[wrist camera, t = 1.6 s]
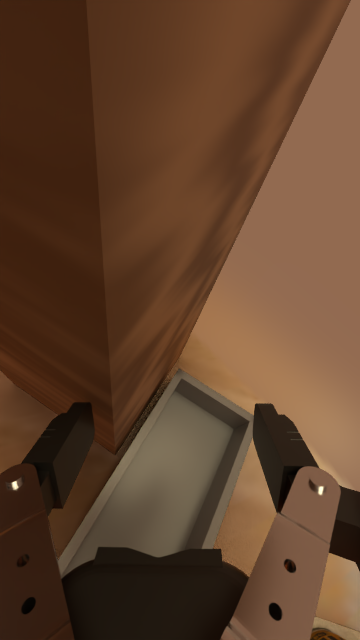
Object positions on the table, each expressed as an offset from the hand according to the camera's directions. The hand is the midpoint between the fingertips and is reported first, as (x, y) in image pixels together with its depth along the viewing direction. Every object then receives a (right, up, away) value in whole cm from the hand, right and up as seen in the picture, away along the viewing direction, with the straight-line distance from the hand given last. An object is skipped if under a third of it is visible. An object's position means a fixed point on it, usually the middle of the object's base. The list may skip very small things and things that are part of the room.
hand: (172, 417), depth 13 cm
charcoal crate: (-2, -14, +13) cm, 19 cm away
